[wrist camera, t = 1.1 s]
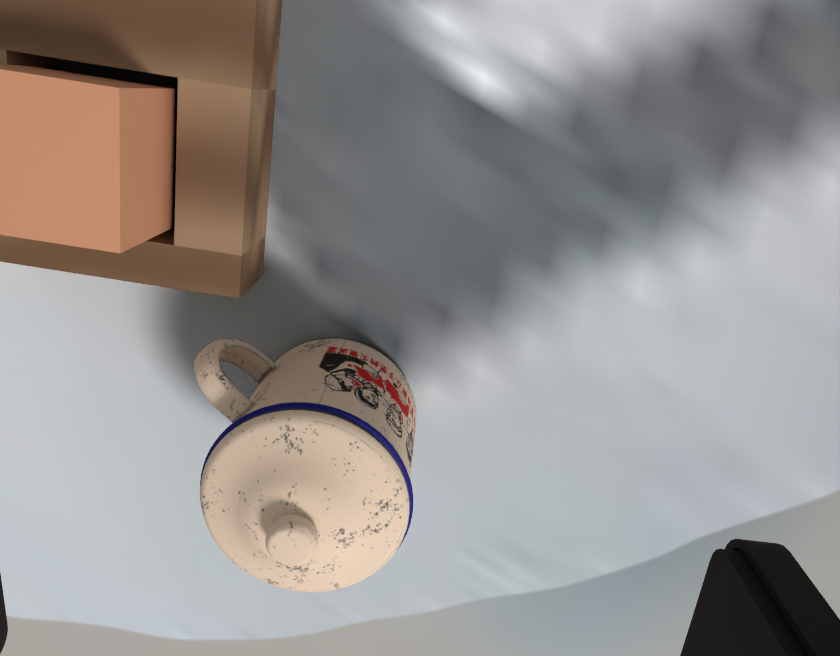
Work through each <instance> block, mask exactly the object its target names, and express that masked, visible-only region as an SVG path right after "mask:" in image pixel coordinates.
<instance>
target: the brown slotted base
mask: <svg viewBox="0 0 840 656" xmlns="http://www.w3.org/2000/svg"><path fill="white" fill-rule="evenodd" d="M281 8H282V0H0V64H7V65H23V66H36V67H42V68H48V69H55V70H61V59H65V60H71V61H77V62H84V63H90V64H96V65H102V66H109V67H115V68H121V69H127V70H134V71H140V72H146V73H153V74H159V75H165V76H171V77H178V98H177V142H176V185H175V223H172V228H171V229H169V230H167V231H165V232H163V233H161V234H159V235H157V236H155V237H153V238H151V239H149V240H147V241H145V242H143V243H141V244H139V245H137V246H135V247H132V248H130V249H128V250H126V251H124V252H122V253H114V252H108V251H101V250H95V249H88V248H82V247H76V246H69V245H63V244H56V243H50V242H44V241H37V240H31V239H25V238H18V237H12V236H5V235H0V261H1V262H8V263H14V264H20V265H27V266H33V267H40V268H46V269H52V270H59V271H65V272H72V273H78V274H84V275H91V276H97V277H104V278H110V279H117V280H123V281H129V282H136V283H142V284H149V285H155V286H161V287H168V288H174V289H181V290H187V291H194V292H200V293H206V294H213V295H219V296H226V297H232V298H238V299H239V298H240V297H241V296H242V295H243V294H244V293H245V292H246V291H247V290H248V289H249V288H250V287H251V286H252V285H253V284H254V283H255V282H256V281H257V280H258V279H259V278H260V277H261V276H262V275H263V262H264V248H265V233H266V219H267V205H268V191H269V177H270V163H271V149H272V135H273V121H274V106H275V92H276V78H277V64H278V50H279V36H280V22H281Z"/></svg>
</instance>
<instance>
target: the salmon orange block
mask: <svg viewBox="0 0 840 656" xmlns="http://www.w3.org/2000/svg"><path fill="white" fill-rule="evenodd" d="M174 116H175V89H174V88H168V87H161V86H155V85H149V84H142V83H136V82H130V81H124V80H117V79H111V78H105V77H99V76H92V75H86V74H80V73H73V72H67V71H61V70H55V69H48V68H42V67H36V66H23V65H7V64H0V235H5V236H12V237H18V238H25V239H31V240H37V241H44V242H50V243H56V244H63V245H69V246H76V247H82V248H88V249H95V250H101V251H108V252H114V253H122V252H124V251H126V250H128V249H130V248H132V247H135V246H137V245H139V244H141V243H143V242H145V241H147V240H149V239H151V238H153V237H155V236H157V235H159V234H161V233H163V232H165V231H167V230H169V229H171V228H172V209H173V162H174Z"/></svg>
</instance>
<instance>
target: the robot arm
mask: <svg viewBox="0 0 840 656" xmlns="http://www.w3.org/2000/svg"><path fill="white" fill-rule="evenodd" d="M7 632H8V627H7V618H6V611H5V604H4V597H3V589H2V582H1V575H0V653H1V651H2V649H3V646H4V644H5V641H6V637H7ZM681 656H840V619H839V618H838V617H837V616H836V614H835V613H834V611H833V610H832V609H831V607H830V606H829V604H828V603H827V602H826V600H825V599H824V598H823V596H822V595H821V594H820V592H819V591H818V590H817V588H816V587H815V586H814V584H813V583H812V581H811V580H810V579H809V577H808V576H807V575H806V573H805V572H804V571H803V569H802V568H801V567H800V565H799V564H798V562H797V561H796V560H795V558H794V557H793V556H792V554H791V553H790V552H789V551H788V550H787V549H786V548H785V547H784V546H783V545H780V544H776V543H768V542H759V541H750V540H742V539H734V540H731V541H730V542H729V543H728V544H727V546H726V548H725V549H718V550H716V551H715V552H714V553H713V555H712V557H711V560H710V563H709V566H708V569H707V572H706V575H705V579H704V582H703V585H702V588H701V591H700V595H699V598H698V601H697V605H696V608H695V611H694V614H693V618H692V620H691V624H690V627H689V630H688V633H687V636H686V639H685V643H684V646H683V649H682V652H681Z"/></svg>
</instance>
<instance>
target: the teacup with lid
mask: <svg viewBox="0 0 840 656" xmlns="http://www.w3.org/2000/svg"><path fill="white" fill-rule="evenodd" d="M220 361H225V362H229V363H232V364H234V365H236V366H238V367H240V368H241V369H243V370H244V371H245V372H247V373H248V374H249V375H250V376H251V377H253V378H254V379H255V380H256V381H257V382H258V383H259V385H258V387H257V389H256V390H255V392H254V393H253V395H252V396H251V398H250V399H248V398H247V397H246V396H245V395H243V394H242V393H241V392H240V391H239V390H238V389H237V388H236V387H235V386H234V385H233V384H232V383H231V382H230V380H229V379H228V378H227V376H226V375H225V373H224V371H223V369H222V367H221V365H220ZM194 374H195V377H196V380H197V382H198V385H199V387H200V388H201V390H202V392H203V393H204V395H205V396H206V397H207V399H208V400H209V401H210V402H211V403H212V404H213V405H214V406H215V407H216V408H217V409H218V410H219V411H220V412H221V413H222V414H223V415H224V416H226V417H227V418H228V419H229V420H230V421H231V422H232V423H233V424H231V425H230V426H229V427H228V428H227V429H226V430H225V431H224V432H223V433H222V434H221V435H220V436H219V437H218V438H217V440H216V441H215V442H214V444H213V446H212V447H211V449H210V451H209V453H208V455H207V457H206V459H205V462H204V465H203V469H202V473H201V481H200V501H201V508H202V512H203V516H204V519H205V522H206V525H207V527H208V529H209V531H210V533H211V535H212V537H213V539H214V540H215V542H216V543H217V545H218V546H219V548H220V549H221V550H222V551H223V552H224V554H225V555H226V556H227V557H228V558H229V559H230V560H231V561H232V562H233V563H235V564H236V565H237V566H238V567H240V568H241V569H242V570H244V571H245V572H247V573H248V574H250V575H252V576H254V577H255V578H257V579H259V580H261V581H264V582H266V583H268V584H271V585H274V586H277V587H281V588H284V589H289V590H295V591H304V592H320V591H329V590H335V589H340V588H343V587H347V586H350V585H352V584H355V583H357V582H359V581H361V580H363V579H365V578H367V577H369V576H370V575H372V574H373V573H375V572H376V571H377V570H379V569H380V568H381V567H382V566H383V565H384V564H385V563H386V562H387V561H388V560H389V559H390V558H391V557H392V556H393V555H394V553H395V552H396V550H397V549H398V548H399V546H400V545H401V543H402V542H403V540H404V538H405V536H406V534H407V531H408V528H409V526H410V522H411V518H412V511H413V492H412V486H411V481H410V475H411V465H412V455H413V445H414V435H415V425H416V406H415V401H414V397H413V394H412V390H411V388H410V386H409V384H408V382H407V380H406V378H405V377H404V375H403V374H402V373H401V371H400V370H399V369H398V368H397V367H396V365H395V364H394V363H393V362H391V361H390V360H389V359H388V358H387V357H385V356H384V355H383V354H381V353H380V352H378V351H377V350H375V349H373V348H371V347H369V346H366V345H364V344H361V343H358V342H355V341H350V340H345V339H319V340H314V341H310V342H306V343H304V344H301V345H299V346H296V347H294V348H292V349H291V350H289V351H288V352H286V353H285V354H284V355H282V356H281V357H280V358H279V359H278V360H277V361H276V362H275V363H273V362H272V361H271V360H270V359H268V358H267V357H266V356H265V355H264V354H263V353H261V352H260V351H259V350H257V349H256V348H254V347H253V346H251V345H249V344H247V343H245V342H242V341H239V340H236V339H228V338H224V339H218V340H215V341H213V342H211V343H209V344H208V345H207V346H206V347H205V348H204V349H202V350H201V351H200V352H199V354H198V355H197V357H196V359H195V361H194Z"/></svg>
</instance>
